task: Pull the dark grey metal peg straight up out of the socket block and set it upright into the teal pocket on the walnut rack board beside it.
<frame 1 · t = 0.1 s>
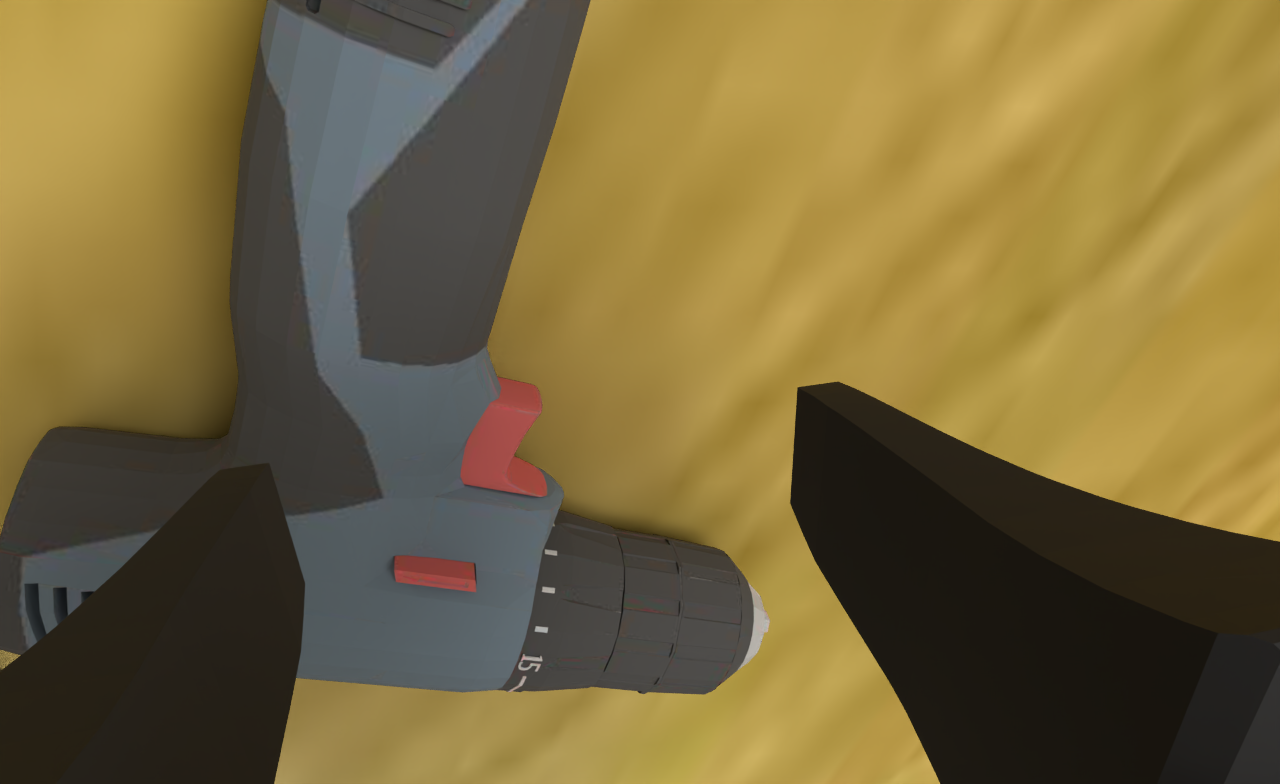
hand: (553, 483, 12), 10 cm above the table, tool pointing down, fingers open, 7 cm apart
power drill: (517, 295, 22), on the table
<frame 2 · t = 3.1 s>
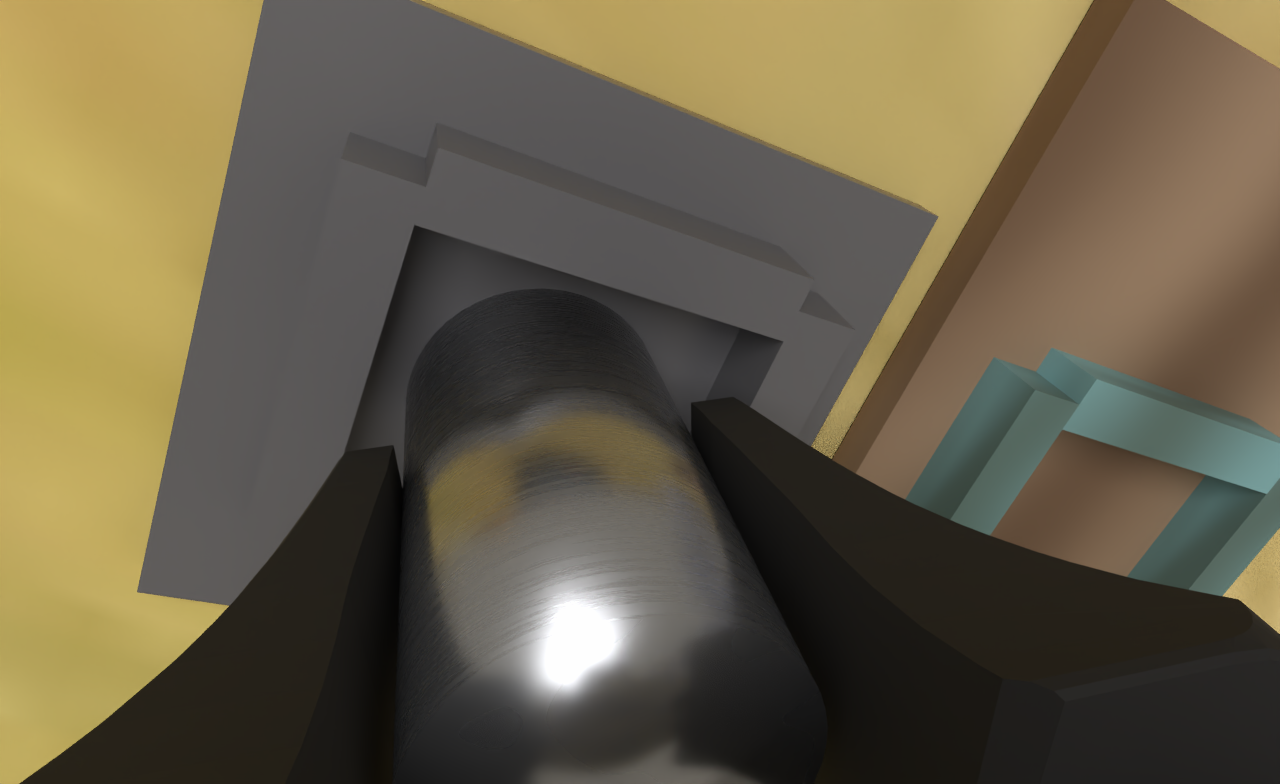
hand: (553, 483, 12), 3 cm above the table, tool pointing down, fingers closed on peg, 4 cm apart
peg: (535, 405, 14), point 1 cm above the table, touching gripper, socket block
socket block: (531, 387, 14), on the table
rack: (1023, 515, 18), on the table
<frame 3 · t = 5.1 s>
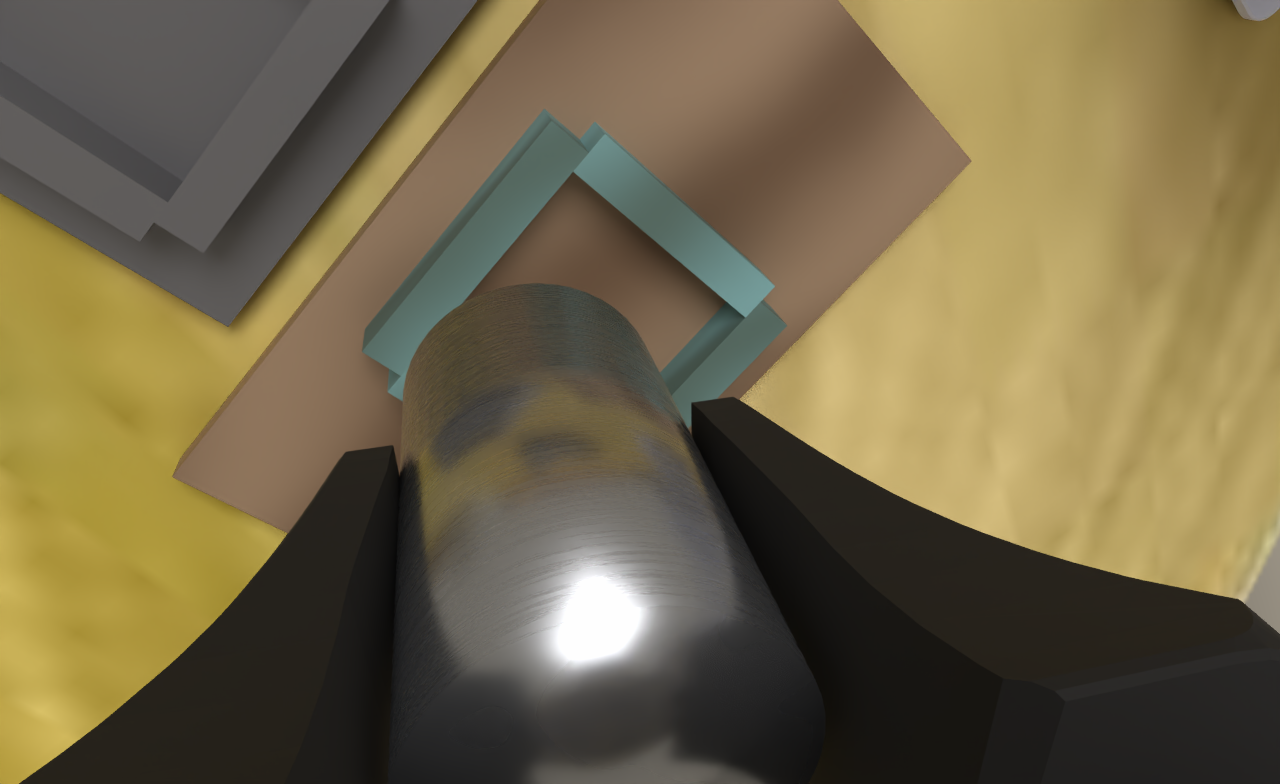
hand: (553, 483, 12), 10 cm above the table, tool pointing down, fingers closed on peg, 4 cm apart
peg: (533, 401, 14), point 8 cm above the table, touching gripper
rack: (572, 303, 21), on the table
when the fingers open (4 cm above the table, at t = 7.3 s): peg stays where it is, resting on rack.
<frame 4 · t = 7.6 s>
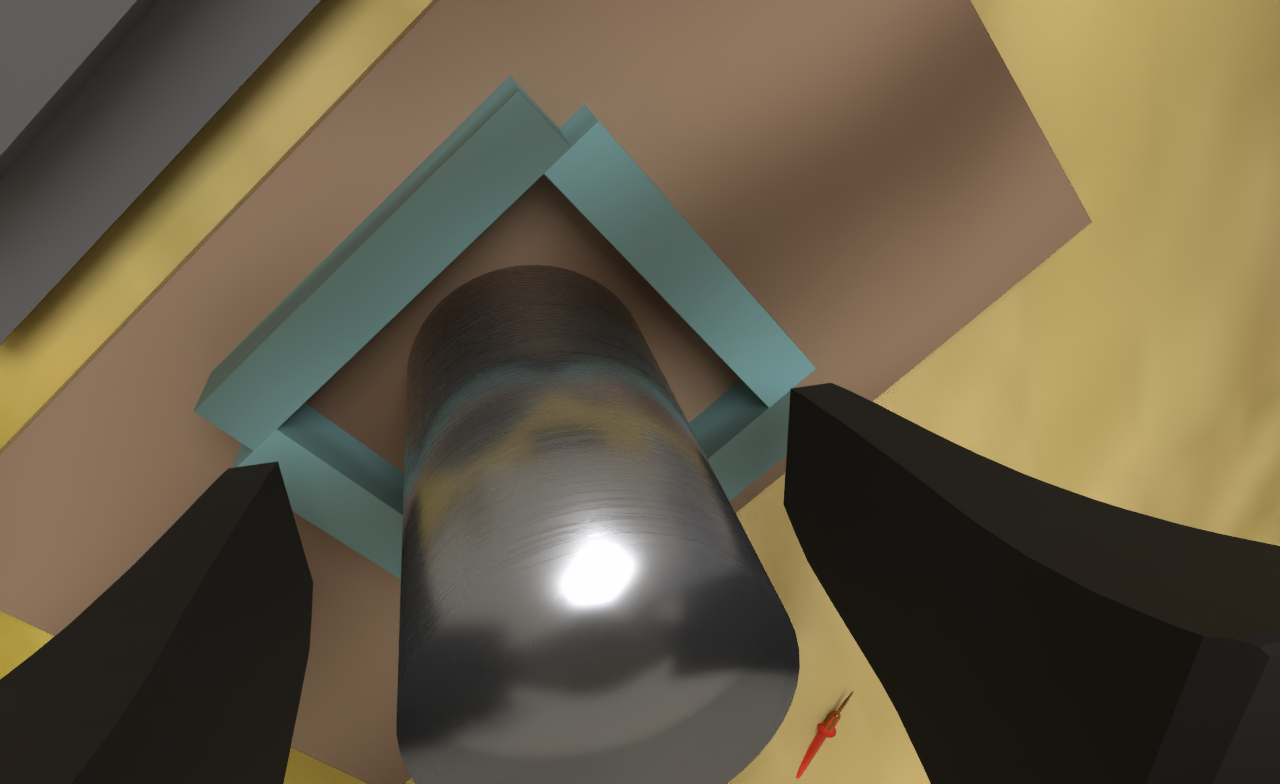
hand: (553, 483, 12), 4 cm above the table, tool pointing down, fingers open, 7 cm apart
peg: (530, 378, 15), point 1 cm above the table, touching rack
rack: (525, 360, 15), on the table
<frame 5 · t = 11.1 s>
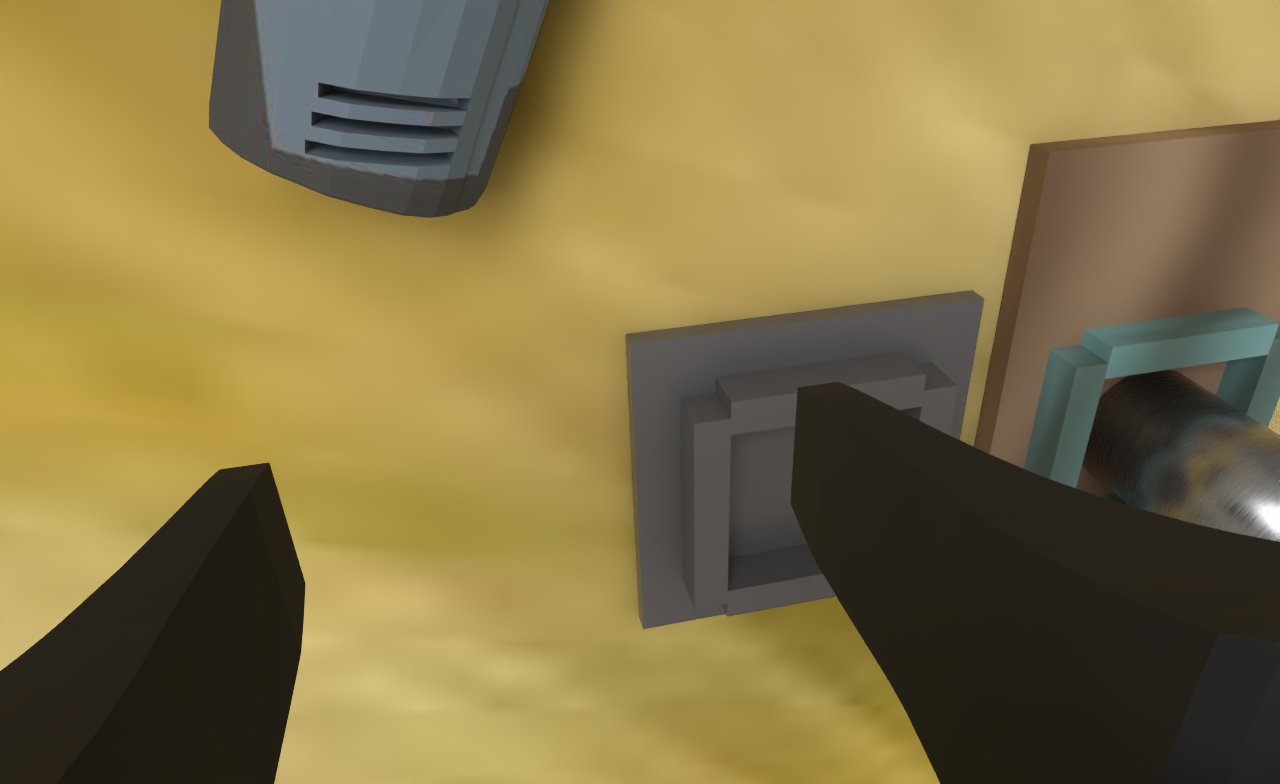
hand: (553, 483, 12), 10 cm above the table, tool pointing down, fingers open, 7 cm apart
peg: (1135, 424, 27), point 1 cm above the table, touching rack
socket block: (795, 463, 26), on the table
rack: (1118, 412, 28), on the table
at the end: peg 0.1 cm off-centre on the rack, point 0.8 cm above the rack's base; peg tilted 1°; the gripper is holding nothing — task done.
